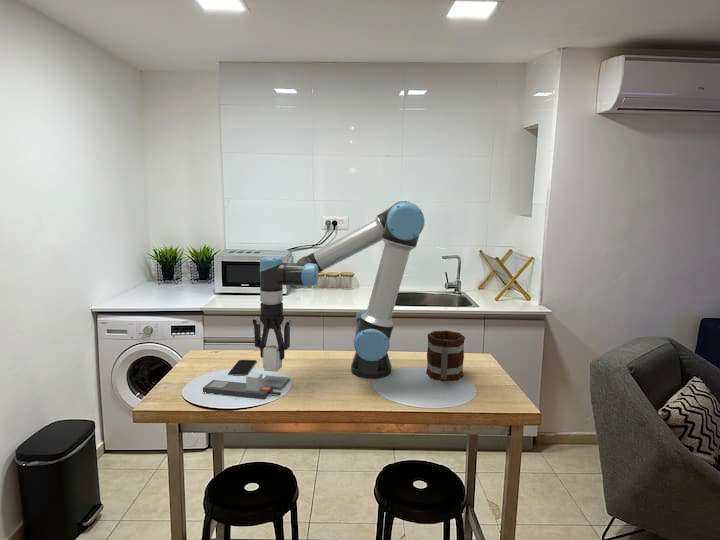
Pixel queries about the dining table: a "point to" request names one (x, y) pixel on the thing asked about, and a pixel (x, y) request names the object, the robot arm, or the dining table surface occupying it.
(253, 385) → the cube
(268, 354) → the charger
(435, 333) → the mug
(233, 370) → the smartphone
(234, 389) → the power strip
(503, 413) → the dining table surface
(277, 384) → the coaster
